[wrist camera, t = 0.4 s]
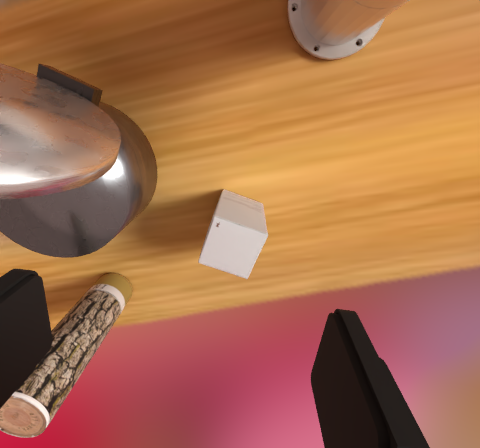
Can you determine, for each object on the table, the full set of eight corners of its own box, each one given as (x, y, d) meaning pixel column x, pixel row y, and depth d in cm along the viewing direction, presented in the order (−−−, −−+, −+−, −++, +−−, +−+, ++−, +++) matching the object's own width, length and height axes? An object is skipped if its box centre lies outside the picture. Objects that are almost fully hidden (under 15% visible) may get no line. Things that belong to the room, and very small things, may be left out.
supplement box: (208, 226, 49) (195, 263, 37) (223, 187, 46) (213, 213, 35) (248, 241, 50) (247, 281, 38) (264, 203, 47) (269, 234, 35)
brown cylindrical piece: (140, 286, 54) (58, 418, 31) (120, 307, 56) (28, 445, 33) (111, 264, 53) (1, 386, 29) (91, 286, 55) (-27, 416, 31)
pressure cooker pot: (-25, 19, 39) (-135, -17, 28) (180, 115, 43) (155, 117, 31) (-36, 171, 47) (-125, 190, 36) (137, 241, 51) (105, 278, 40)
